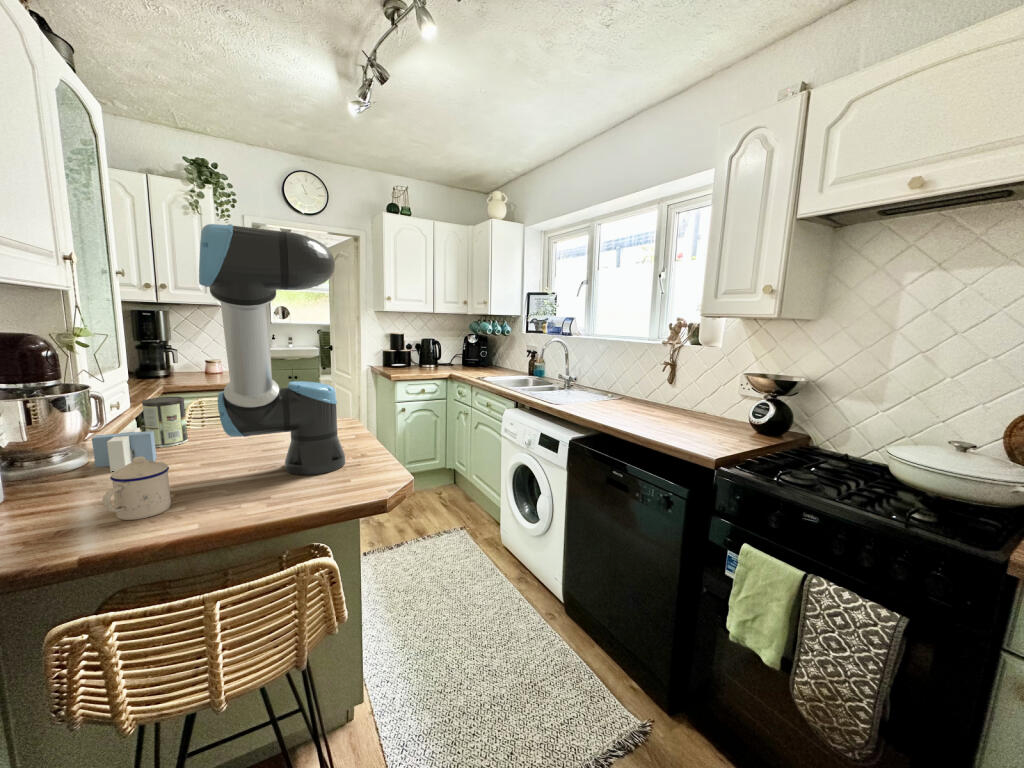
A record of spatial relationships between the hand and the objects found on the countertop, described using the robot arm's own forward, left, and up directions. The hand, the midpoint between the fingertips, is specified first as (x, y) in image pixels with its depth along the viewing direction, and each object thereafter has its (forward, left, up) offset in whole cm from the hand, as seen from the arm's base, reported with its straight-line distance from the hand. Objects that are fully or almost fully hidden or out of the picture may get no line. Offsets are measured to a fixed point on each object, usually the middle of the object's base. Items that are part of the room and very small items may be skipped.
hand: (254, 362), depth 128 cm
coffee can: (+15, +26, -27) cm, 40 cm away
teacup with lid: (-42, +19, -27) cm, 53 cm away
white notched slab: (-3, +31, -27) cm, 41 cm away
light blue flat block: (-3, +31, -27) cm, 41 cm away
